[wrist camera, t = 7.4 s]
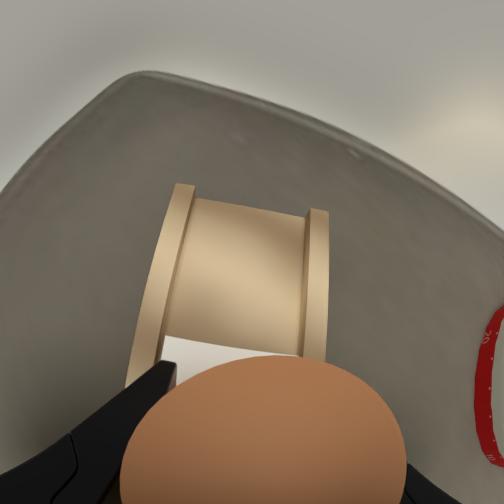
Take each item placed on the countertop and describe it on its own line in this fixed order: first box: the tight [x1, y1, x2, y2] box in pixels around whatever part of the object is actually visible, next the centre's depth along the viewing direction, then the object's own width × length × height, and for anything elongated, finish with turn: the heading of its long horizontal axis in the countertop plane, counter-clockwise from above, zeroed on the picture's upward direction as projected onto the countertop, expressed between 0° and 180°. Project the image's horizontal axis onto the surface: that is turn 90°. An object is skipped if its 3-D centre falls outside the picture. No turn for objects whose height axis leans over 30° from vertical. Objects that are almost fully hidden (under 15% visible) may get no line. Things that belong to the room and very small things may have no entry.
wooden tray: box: [125, 183, 329, 388], centre depth 12 cm, size 17×8×3 cm, turn 173°
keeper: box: [120, 335, 407, 504], centre depth 7 cm, size 6×5×10 cm
